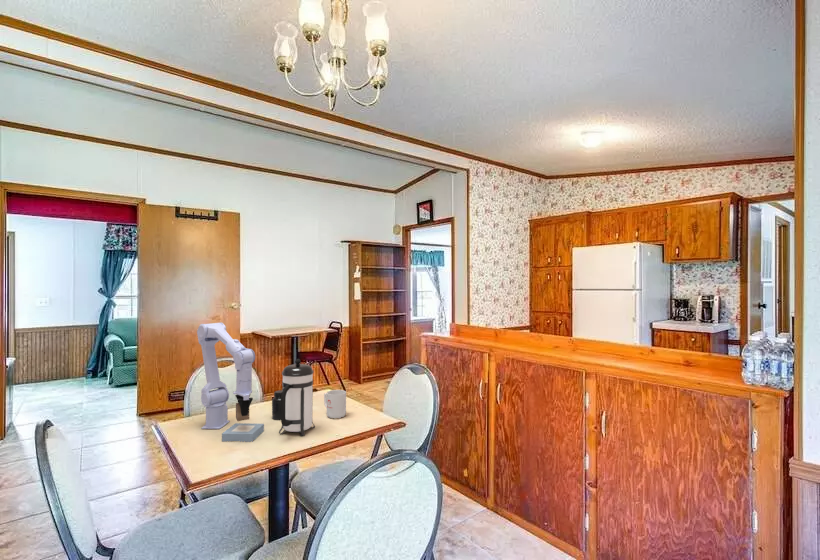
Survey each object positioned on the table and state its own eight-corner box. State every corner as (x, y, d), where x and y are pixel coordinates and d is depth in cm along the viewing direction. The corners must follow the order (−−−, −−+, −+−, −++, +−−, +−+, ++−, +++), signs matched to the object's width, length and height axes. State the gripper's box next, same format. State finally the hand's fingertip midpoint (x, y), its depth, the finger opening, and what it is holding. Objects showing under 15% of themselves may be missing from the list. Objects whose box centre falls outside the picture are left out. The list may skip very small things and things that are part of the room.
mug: (349, 415, 194) (350, 391, 194) (336, 420, 187) (336, 395, 187) (331, 411, 201) (331, 387, 201) (317, 415, 194) (317, 391, 194)
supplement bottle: (282, 414, 195) (282, 388, 195) (290, 417, 191) (290, 391, 191) (268, 418, 190) (269, 391, 190) (277, 421, 185) (277, 394, 185)
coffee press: (272, 428, 176) (273, 357, 176) (310, 423, 183) (311, 354, 184) (280, 442, 161) (281, 364, 161) (321, 435, 168) (322, 361, 168)
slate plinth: (235, 430, 173) (235, 423, 173) (263, 430, 173) (263, 423, 173) (221, 441, 161) (221, 433, 161) (252, 441, 161) (252, 434, 161)
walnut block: (235, 418, 168) (235, 403, 168) (247, 416, 170) (247, 401, 170) (237, 421, 164) (237, 406, 164) (249, 419, 166) (249, 404, 166)
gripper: (231, 377, 172) (231, 410, 172) (235, 384, 159) (235, 420, 159) (249, 375, 175) (249, 407, 175) (254, 382, 163) (254, 417, 163)
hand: (243, 413), depth 167 cm, fingers closed on walnut block, 4 cm apart
